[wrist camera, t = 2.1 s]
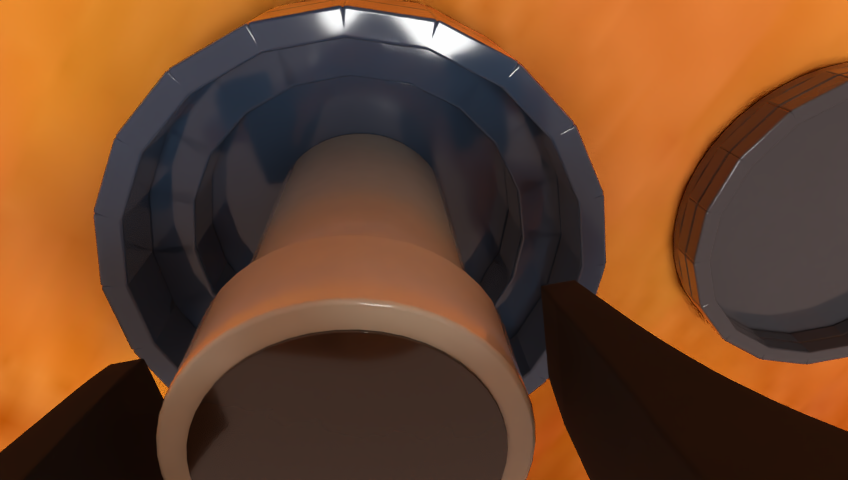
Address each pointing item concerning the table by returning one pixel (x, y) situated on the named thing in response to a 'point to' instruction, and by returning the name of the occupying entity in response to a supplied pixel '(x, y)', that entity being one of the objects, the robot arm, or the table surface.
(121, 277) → the planter
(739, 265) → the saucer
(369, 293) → the clay pot
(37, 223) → the table surface
